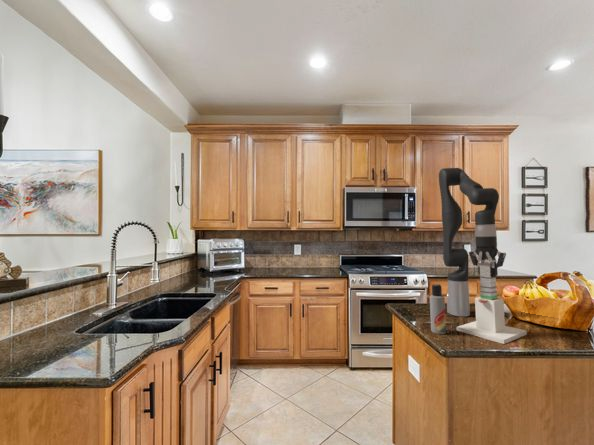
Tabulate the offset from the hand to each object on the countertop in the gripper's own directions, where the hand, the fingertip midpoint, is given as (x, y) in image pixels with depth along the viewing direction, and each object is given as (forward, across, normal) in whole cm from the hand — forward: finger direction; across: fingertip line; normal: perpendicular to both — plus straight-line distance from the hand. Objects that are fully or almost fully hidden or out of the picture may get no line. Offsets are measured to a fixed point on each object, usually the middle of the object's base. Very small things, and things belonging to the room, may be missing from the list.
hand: (487, 276), depth 119 cm
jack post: (+14, 0, 0) cm, 14 cm away
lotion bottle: (+23, +12, +17) cm, 31 cm away
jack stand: (+23, 0, 0) cm, 23 cm away
